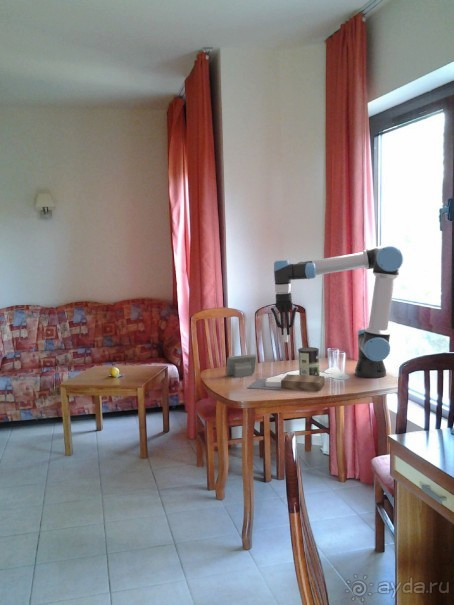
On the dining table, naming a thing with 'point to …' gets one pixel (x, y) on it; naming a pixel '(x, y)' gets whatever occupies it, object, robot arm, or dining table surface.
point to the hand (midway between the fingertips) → (286, 341)
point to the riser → (302, 382)
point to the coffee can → (309, 361)
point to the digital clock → (241, 365)
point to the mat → (262, 385)
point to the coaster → (274, 382)
